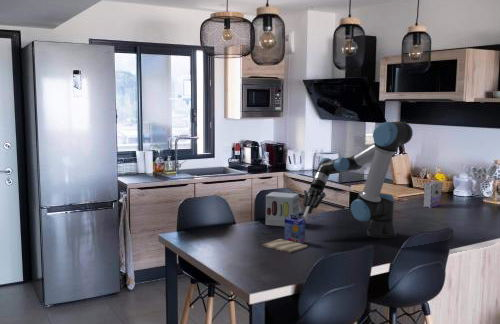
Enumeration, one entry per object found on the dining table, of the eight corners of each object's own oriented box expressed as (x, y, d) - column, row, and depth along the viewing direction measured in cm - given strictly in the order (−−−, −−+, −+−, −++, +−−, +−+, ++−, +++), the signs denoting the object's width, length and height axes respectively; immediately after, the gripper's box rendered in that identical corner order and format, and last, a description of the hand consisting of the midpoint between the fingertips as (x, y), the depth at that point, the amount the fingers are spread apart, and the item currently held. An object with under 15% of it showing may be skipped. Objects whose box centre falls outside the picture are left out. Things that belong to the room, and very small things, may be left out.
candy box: (433, 204, 363) (434, 181, 361) (441, 205, 358) (442, 182, 356) (422, 206, 354) (423, 183, 352) (430, 208, 350) (431, 184, 348)
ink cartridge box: (283, 241, 269) (283, 214, 267) (289, 239, 273) (290, 212, 271) (299, 244, 262) (299, 216, 261) (305, 242, 267) (305, 214, 265)
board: (307, 247, 257) (307, 245, 257) (290, 253, 247) (290, 251, 247) (280, 240, 270) (280, 238, 270) (262, 246, 260) (262, 244, 260)
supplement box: (265, 225, 304) (264, 195, 302) (272, 220, 316) (272, 191, 314) (293, 227, 298) (293, 197, 295) (299, 222, 310) (299, 193, 308)
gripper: (331, 187, 284) (318, 223, 273) (310, 185, 292) (296, 220, 280) (327, 179, 279) (313, 215, 268) (306, 177, 287) (292, 212, 275)
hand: (305, 217), depth 274 cm, fingers closed
